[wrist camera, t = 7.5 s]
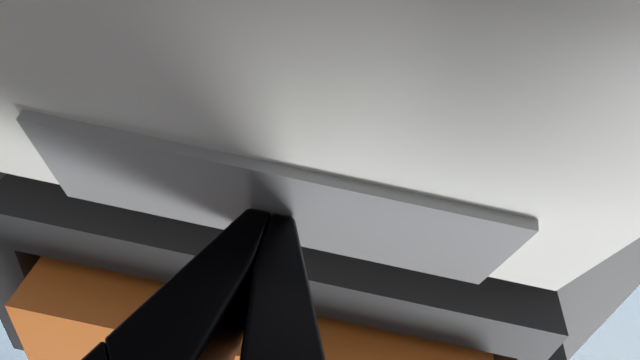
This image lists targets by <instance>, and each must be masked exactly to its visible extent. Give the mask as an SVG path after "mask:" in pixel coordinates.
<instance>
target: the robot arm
mask: <svg viewBox="0 0 640 360" xmlns="http://www.w3.org/2000/svg"><path fill="white" fill-rule="evenodd" d="M242 338H243V339H242ZM241 341H242V347H241V354H240V360H326V359H325V355H324V350H323V346H322V341H321V336H320V332H319V327H318V323H317V318H316V313H315V309H314V304H313V300H312V295H311V290H310V286H309V281H308V277H307V272H306V267H305V263H304V258H303V254H302V249H301V244H300V240H299V235H298V231H297V226H296V222H295V219H294V218H293V217H290V216H285V215H280V214H275V213H274V214H272V215H270V213H269V212H266V211H262V210H257V209H252V208H249V209H246V210H245V211H244V212H243V213H242V214H241V215H240V216H238V217H237V218H236V219H235V220H234V221H233V222H232V223H231V224H230V225H229V226H227V227H226V228H225V229H224V230H223V231H222V232H221V233H220V234H219V235H218V236H217V237H215V238H214V239H213V240H212V241H211V242H210V243H209V244H208V245H207V246H206V247H204V248H203V249H202V250H201V251H200V252H199V253H198V254H197V255H196V256H195V257H193V258H192V259H191V260H190V261H189V262H188V263H187V264H186V265H185V266H184V267H182V268H181V269H180V270H179V271H178V272H177V273H176V274H175V275H174V276H173V277H172V278H170V279H169V280H168V281H167V282H166V283H165V284H164V285H163V286H162V287H161V288H159V289H158V290H157V291H156V292H155V293H154V294H153V295H152V296H151V297H150V298H148V299H147V300H146V301H145V302H144V303H143V304H142V305H141V306H140V307H139V308H138V309H136V310H135V311H134V312H133V313H132V314H131V315H130V316H129V317H128V318H127V319H125V320H124V321H123V322H122V323H121V324H120V325H119V326H118V327H117V328H116V329H114V330H113V331H112V332H111V333H110V334H109V335H108V336H107V337H106V338H105V342H100V343H99V344H98V345H97V346H95V347H94V348H93V349H92V350H91V351H90V352H89V353H88V354H87V355H86V356H85V357H83V358H82V359H81V360H234V359H235V356H236V354H237V351H238V349H239V346H240V344H241Z"/></svg>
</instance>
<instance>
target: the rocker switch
mask: <svg viewBox="0 0 640 360" xmlns="http://www.w3.org/2000/svg"><path fill="white" fill-rule="evenodd" d="M0 172H3V173H7V174H12V175H17V176H21V177H26V178H31V179H35V180H40V181H45V182H49V183H54V184H59V185H60V186H61V187H62V189H63V190H64V192H65V193H66V195H67V196H69V197H73V198H78V199H83V200H87V201H92V202H97V203H101V204H106V205H111V206H115V207H120V208H125V209H129V210H134V211H139V212H143V213H148V214H153V215H157V216H162V217H167V218H171V219H176V220H181V221H185V222H190V223H195V224H199V225H204V226H209V227H213V228H218V229H222V230H224V229H225V228H226V227H227V226H229V225H230V224H231V223H232V222H233V221H234V220H235V219H236V218H237V217H238V216H240V215H241V214H242V213H243V212H244V211H245V210H246V209H249V208H252V209H257V210H262V211H266V212H269V213H270V215H272V214H274V213H275V214H280V215H285V216H290V217H293V218H294V219H295V222H296V226H297V231H298V235H299V240H300V244H301V246H302V247H306V248H311V249H316V250H320V251H325V252H330V253H334V254H339V255H344V256H348V257H353V258H358V259H362V260H367V261H372V262H376V263H381V264H386V265H390V266H395V267H399V268H404V269H409V270H413V271H418V272H423V273H427V274H432V275H437V276H441V277H446V278H451V279H455V280H460V281H465V282H469V283H474V284H480V283H481V282H482V281H483V280H484V279H486V278H487V277H492V278H497V279H501V280H506V281H511V282H515V283H520V284H525V285H529V286H534V287H539V288H543V289H548V290H553V291H557V290H558V289H560V288H561V287H563V286H565V285H566V284H568V283H569V282H571V281H572V280H574V279H576V278H577V277H579V276H580V275H582V274H583V273H585V272H587V271H588V270H590V269H591V268H593V267H594V266H596V265H598V264H599V263H601V262H602V261H604V260H605V259H607V258H609V257H610V256H612V255H613V254H615V253H616V252H618V251H620V250H621V249H623V248H624V247H626V246H627V245H629V244H631V243H632V242H634V241H635V240H637V239H638V238H640V0H0Z"/></svg>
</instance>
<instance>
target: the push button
mask: <svg viewBox="0 0 640 360" xmlns="http://www.w3.org/2000/svg"><path fill="white" fill-rule="evenodd" d="M164 284H165V283H164V282H159V281H154V280H150V279H145V278H140V277H136V276H131V275H127V274H122V273H117V272H113V271H108V270H103V269H99V268H94V267H89V266H85V265H80V264H75V263H71V262H66V261H62V260H57V259H52V258H48V257H43V256H41V257H40V259H39V260H38V261H37V263H36V264H35V265H34V267H33V268H32V269H31V271H30V272H29V273H28V275H27V276H26V277H25V279H24V280H23V282H22V283H21V284H20V286H19V287H18V288H17V290H16V291H15V292H14V294H13V295H12V296H11V298H10V299H9V300H8V302H7V303H6V305H5V307H6V310H7V312H8V314H9V316H10V319H11V321H12V323H13V326H14V328H15V330H16V332H17V335H18V337H19V339H20V341H21V344H22V346H23V348H24V350H25V353H26V355H27V357H28V359H29V360H81V359H82V358H83V357H85V356H86V355H87V354H88V353H89V352H90V351H91V350H92V349H93V348H94V347H95V346H97V345H98V344H99V343H100V342H105V338H106V337H107V336H108V335H109V334H110V333H111V332H112V331H113V330H114V329H116V328H117V327H118V326H119V325H120V324H121V323H122V322H123V321H124V320H125V319H127V318H128V317H129V316H130V315H131V314H132V313H133V312H134V311H135V310H136V309H138V308H139V307H140V306H141V305H142V304H143V303H144V302H145V301H146V300H147V299H148V298H150V297H151V296H152V295H153V294H154V293H155V292H156V291H157V290H158V289H159V288H161V287H162V286H163V285H164ZM316 318H317V323H318V327H319V332H320V336H321V341H322V346H323V350H324V355H325V359H326V360H494V359H493V353H489V352H484V351H479V350H475V349H470V348H465V347H461V346H456V345H451V344H447V343H442V342H438V341H433V340H428V339H424V338H419V337H414V336H410V335H405V334H400V333H396V332H391V331H386V330H382V329H377V328H373V327H368V326H363V325H359V324H354V323H349V322H345V321H340V320H335V319H331V318H326V317H321V316H317V315H316ZM242 339H243V338H242ZM241 347H242V341H241V344H240V346H239V349H238V351H237V354H236V356H235V359H234V360H240V354H241Z"/></svg>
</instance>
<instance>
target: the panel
mask: <svg viewBox="0 0 640 360" xmlns="http://www.w3.org/2000/svg"><path fill="white" fill-rule="evenodd" d="M222 231H223V230H222V229H218V228H213V227H209V226H204V225H199V224H195V223H190V222H185V221H181V220H176V219H171V218H167V217H162V216H157V215H153V214H148V213H143V212H139V211H134V210H129V209H125V208H120V207H115V206H111V205H106V204H101V203H97V202H92V201H87V200H83V199H78V198H73V197H69V196H67V195H66V193H65V192H64V190H63V189H62V187H61V186H60V185H59V184H54V183H49V182H45V181H40V180H35V179H31V178H26V177H21V176H17V175H12V174H7V173H3V172H0V319H1V322H2V324H3V326H4V328H5V330H6V332H7V334H8V337H9V339H10V341H11V343H12V345H13V347H14V348H16V349H20V350H24V348H23V346H22V344H21V341H20V339H19V337H18V335H17V332H16V330H15V328H14V326H13V323H12V321H11V319H10V316H9V314H8V312H7V310H6V307H5V305H6V303H7V302H8V300H9V299H10V298H11V296H12V295H13V294H14V292H15V291H16V290H17V288H18V287H19V286H20V284H21V283H22V282H23V280H24V279H25V277H26V276H27V275H28V273H29V272H30V271H31V269H32V268H33V267H34V265H35V264H36V263H37V261H38V260H39V259H40V257H41V256H43V257H48V258H52V259H57V260H62V261H66V262H71V263H75V264H80V265H85V266H89V267H94V268H99V269H103V270H108V271H113V272H117V273H122V274H127V275H131V276H136V277H140V278H145V279H150V280H154V281H159V282H164V283H166V282H167V281H168V280H169V279H170V278H172V277H173V276H174V275H175V274H176V273H177V272H178V271H179V270H180V269H181V268H182V267H184V266H185V265H186V264H187V263H188V262H189V261H190V260H191V259H192V258H193V257H195V256H196V255H197V254H198V253H199V252H200V251H201V250H202V249H203V248H204V247H206V246H207V245H208V244H209V243H210V242H211V241H212V240H213V239H214V238H215V237H217V236H218V235H219V234H220V233H221V232H222ZM301 249H302V254H303V258H304V263H305V267H306V272H307V277H308V281H309V286H310V290H311V295H312V300H313V304H314V309H315V313H316V315H317V316H321V317H326V318H331V319H335V320H340V321H345V322H349V323H354V324H359V325H363V326H368V327H373V328H377V329H382V330H386V331H391V332H396V333H400V334H405V335H410V336H414V337H419V338H424V339H428V340H433V341H438V342H442V343H447V344H451V345H456V346H461V347H465V348H470V349H475V350H479V351H484V352H489V353H493V359H494V360H569V359H570V358H571V357H572V356H573V355H574V353H575V352H576V351H577V350H578V349H579V348H580V347H581V346H582V345H583V344H584V343H585V342H586V341H587V340H588V339H589V338H590V337H591V335H592V334H593V333H594V332H595V331H596V330H597V329H598V328H599V327H600V326H601V325H602V324H603V323H604V322H605V321H606V320H607V319H608V317H609V316H610V315H611V314H612V313H613V312H614V311H615V310H616V309H617V308H618V307H619V306H620V305H621V304H622V303H623V302H624V300H625V299H626V298H627V297H628V296H629V295H630V294H631V293H632V292H633V291H634V290H635V289H636V288H637V287H638V286H639V285H640V238H638V239H637V240H635V241H634V242H632V243H631V244H629V245H627V246H626V247H624V248H623V249H621V250H620V251H618V252H616V253H615V254H613V255H612V256H610V257H609V258H607V259H605V260H604V261H602V262H601V263H599V264H598V265H596V266H594V267H593V268H591V269H590V270H588V271H587V272H585V273H583V274H582V275H580V276H579V277H577V278H576V279H574V280H572V281H571V282H569V283H568V284H566V285H565V286H563V287H561V288H560V289H558V290H557V291H553V290H548V289H543V288H539V287H534V286H529V285H525V284H520V283H515V282H511V281H506V280H501V279H497V278H492V277H487V278H486V279H484V280H483V281H482V282H481V283H480V284H474V283H469V282H465V281H460V280H455V279H451V278H446V277H441V276H437V275H432V274H427V273H423V272H418V271H413V270H409V269H404V268H399V267H395V266H390V265H386V264H381V263H376V262H372V261H367V260H362V259H358V258H353V257H348V256H344V255H339V254H334V253H330V252H325V251H320V250H316V249H311V248H306V247H302V246H301Z"/></svg>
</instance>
